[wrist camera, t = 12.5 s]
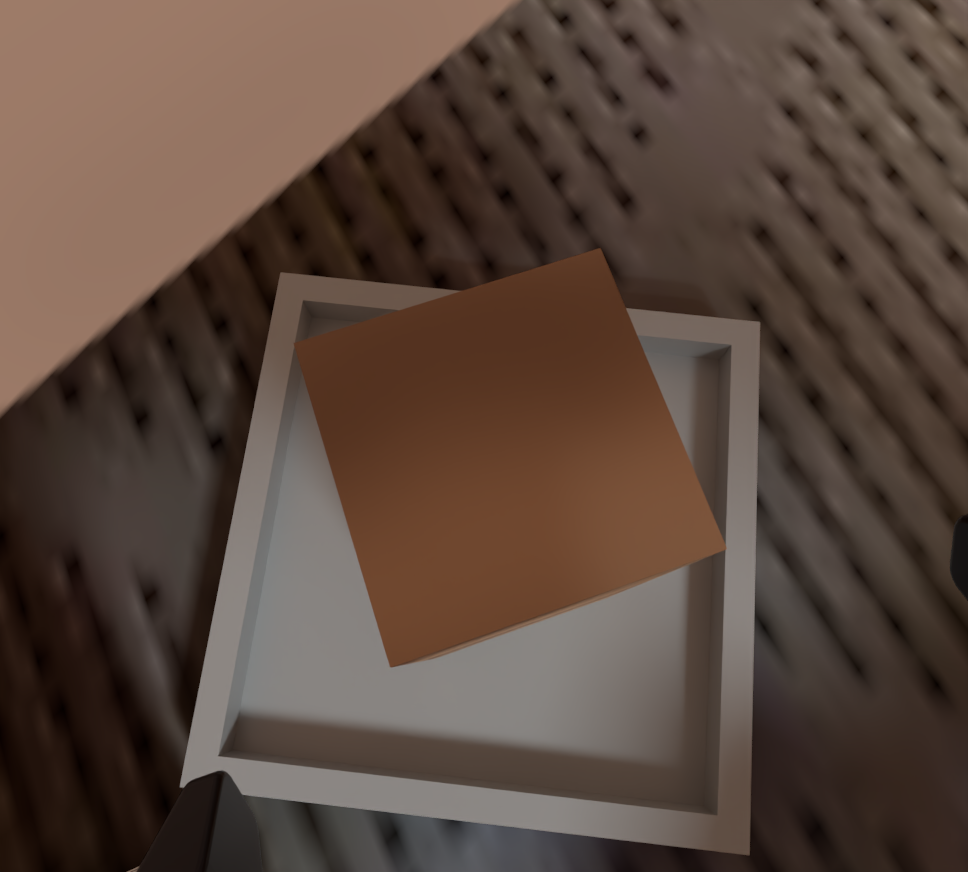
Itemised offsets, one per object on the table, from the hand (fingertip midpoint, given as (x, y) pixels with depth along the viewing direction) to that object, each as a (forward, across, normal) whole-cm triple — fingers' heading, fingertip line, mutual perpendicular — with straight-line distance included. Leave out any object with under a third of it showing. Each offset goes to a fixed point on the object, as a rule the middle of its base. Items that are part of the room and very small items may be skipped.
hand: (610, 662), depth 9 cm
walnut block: (+11, 0, +7) cm, 13 cm away
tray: (+12, 0, +7) cm, 14 cm away
